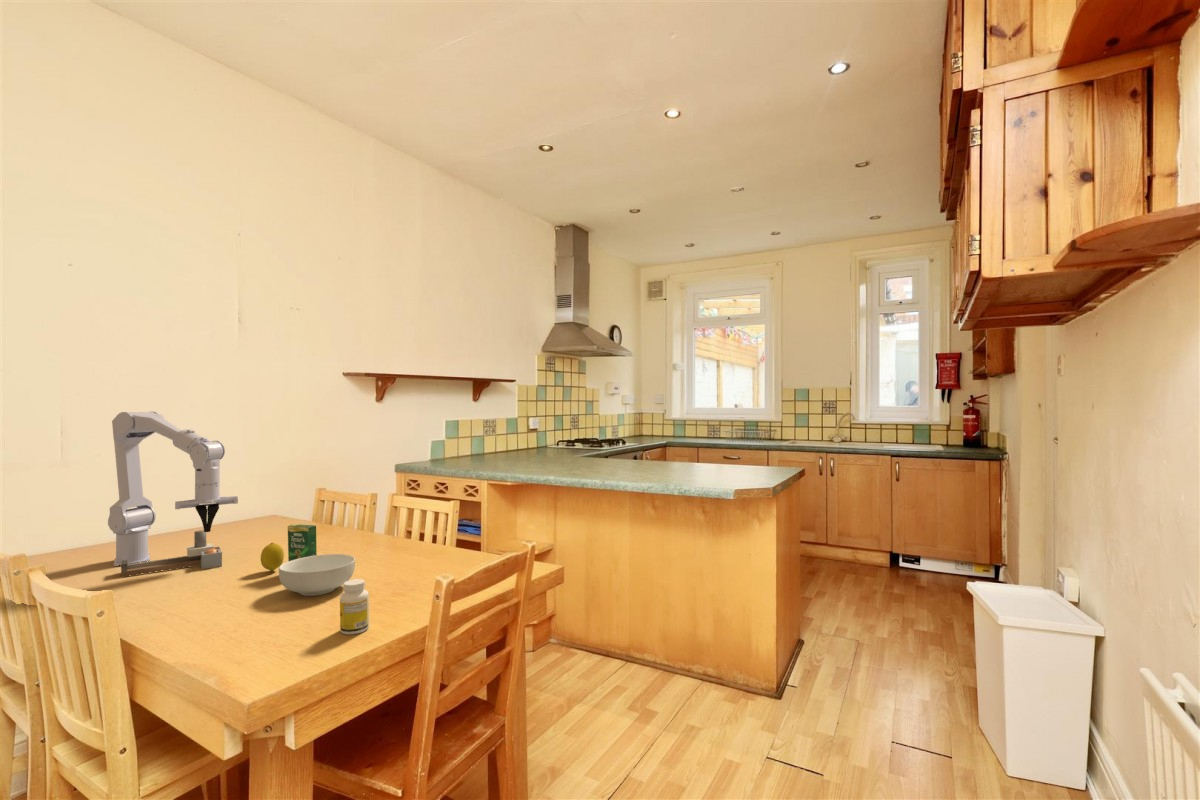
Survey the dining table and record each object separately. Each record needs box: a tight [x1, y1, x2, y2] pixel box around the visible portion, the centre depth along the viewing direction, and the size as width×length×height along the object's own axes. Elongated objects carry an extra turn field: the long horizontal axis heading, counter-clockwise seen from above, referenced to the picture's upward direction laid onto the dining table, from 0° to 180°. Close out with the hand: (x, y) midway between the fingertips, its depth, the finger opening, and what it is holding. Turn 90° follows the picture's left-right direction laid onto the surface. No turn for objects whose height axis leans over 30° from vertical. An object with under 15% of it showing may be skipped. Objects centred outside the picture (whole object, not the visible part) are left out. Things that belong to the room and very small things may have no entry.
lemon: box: [260, 542, 285, 572], centre depth 152 cm, size 6×6×8 cm
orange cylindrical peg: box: [206, 549, 217, 554], centre depth 157 cm, size 2×2×4 cm
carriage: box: [186, 529, 215, 557], centre depth 160 cm, size 5×6×6 cm
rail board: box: [120, 546, 221, 578], centre depth 156 cm, size 6×22×4 cm, turn 129°
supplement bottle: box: [339, 578, 370, 636], centre depth 112 cm, size 5×5×10 cm
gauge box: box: [200, 548, 223, 570], centre depth 157 cm, size 5×5×4 cm
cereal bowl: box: [278, 553, 356, 597], centre depth 136 cm, size 17×17×7 cm
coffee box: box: [287, 523, 318, 562], centre depth 150 cm, size 8×3×13 cm, turn 68°
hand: (207, 531), depth 157 cm, fingers closed
